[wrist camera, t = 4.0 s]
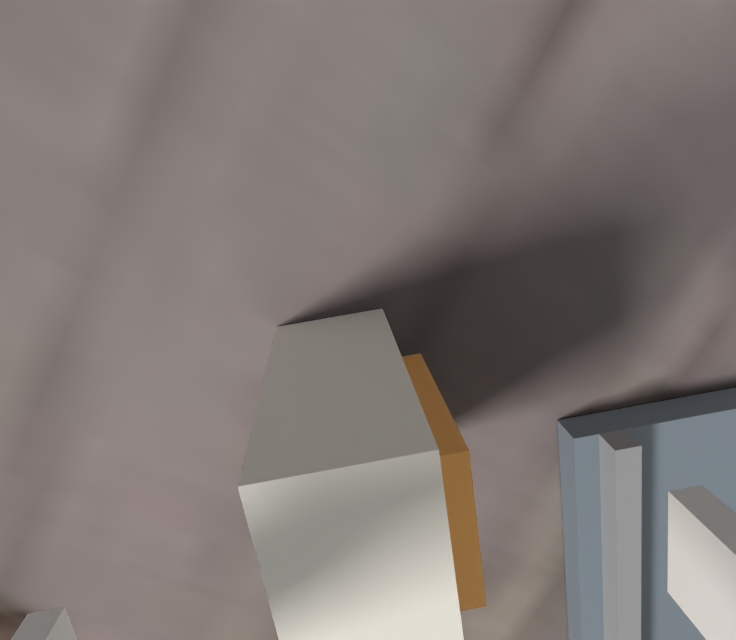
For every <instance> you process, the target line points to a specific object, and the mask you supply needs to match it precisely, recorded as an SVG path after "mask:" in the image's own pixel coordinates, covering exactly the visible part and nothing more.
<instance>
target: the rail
mask: <svg viewBox="0 0 736 640" xmlns="http://www.w3.org/2000/svg"><path fill="white" fill-rule="evenodd" d="M557 423H558V442H559V462H560V481H561V501H562V520H563V540H564V559H565V579H566V599H567V618H568V638H569V640H706V639H705V638H704V636H703V635H702V634H701V633H700V631H699V630H698V629H697V628H696V626H695V625H694V624H693V623H692V622H691V620H690V619H689V618H688V617H687V615H686V614H685V613H684V612H683V610H682V609H681V608H680V607H679V605H678V604H677V603H676V602H675V600H674V599H673V598H672V597H671V595H670V594H669V593H668V592H667V583H668V491H671V490H676V489H682V488H687V487H692V486H697V485H703V486H704V487H705V488H707V489H708V490H709V491H710V492H711V493H712V494H714V495H715V496H716V497H717V498H718V499H719V500H721V501H722V502H723V503H724V504H725V505H727V506H728V507H729V508H730V509H731V510H732V511H734V512H735V513H736V387H735V388H730V389H724V390H719V391H714V392H708V393H703V394H697V395H692V396H686V397H681V398H676V399H670V400H665V401H659V402H654V403H648V404H643V405H638V406H632V407H627V408H621V409H616V410H610V411H605V412H600V413H594V414H589V415H583V416H578V417H572V418H567V419H562V420H557Z"/></svg>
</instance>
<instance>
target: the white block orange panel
mask: <svg viewBox="0 0 736 640" xmlns="http://www.w3.org/2000/svg"><path fill="white" fill-rule="evenodd" d="M238 490H239V494H240V497H241V501H242V505H243V508H244V512H245V516H246V520H247V523H248V527H249V531H250V534H251V538H252V542H253V546H254V549H255V553H256V557H257V560H258V564H259V568H260V572H261V575H262V579H263V583H264V586H265V590H266V594H267V598H268V601H269V605H270V609H271V612H272V616H273V620H274V624H275V627H276V631H277V635H278V638H279V640H464V638H463V631H462V623H461V615H460V611H463V610H468V609H473V608H478V607H483V606H486V599H485V590H484V581H483V572H482V563H481V553H480V544H479V535H478V526H477V517H476V508H475V499H474V490H473V481H472V472H471V463H470V454H469V449H468V447H467V445H466V443H465V441H464V439H463V437H462V435H461V433H460V431H459V429H458V427H457V425H456V423H455V421H454V419H453V417H452V415H451V413H450V411H449V409H448V407H447V405H446V403H445V401H444V399H443V397H442V395H441V393H440V391H439V389H438V387H437V385H436V383H435V381H434V379H433V377H432V375H431V373H430V371H429V369H428V367H427V365H426V363H425V361H424V359H423V357H422V355H421V353H419V354H413V355H408V356H401V353H400V351H399V348H398V346H397V343H396V341H395V338H394V336H393V333H392V331H391V328H390V326H389V323H388V321H387V318H386V316H385V313H384V311H383V308H382V309H376V310H370V311H365V312H359V313H353V314H348V315H342V316H336V317H330V318H325V319H319V320H313V321H307V322H302V323H296V324H290V325H284V326H279V327H276V329H275V334H274V338H273V342H272V346H271V350H270V354H269V359H268V363H267V367H266V371H265V375H264V379H263V383H262V388H261V392H260V396H259V400H258V404H257V408H256V413H255V417H254V421H253V425H252V429H251V433H250V437H249V442H248V446H247V450H246V454H245V458H244V462H243V467H242V471H241V475H240V479H239V483H238Z"/></svg>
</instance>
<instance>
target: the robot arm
mask: <svg viewBox="0 0 736 640" xmlns="http://www.w3.org/2000/svg"><path fill="white" fill-rule="evenodd" d="M667 592H668V593H669V594H670V595H671V597H672V598H673V599H674V600H675V602H676V603H677V604H678V605H679V607H680V608H681V609H682V610H683V612H684V613H685V614H686V615H687V617H688V618H689V619H690V620H691V622H692V623H693V624H694V625H695V626H696V628H697V629H698V630H699V631H700V633H701V634H702V635H703V636H704V638H705V639H706V640H736V513H735V512H734V511H732V510H731V509H730V508H729V507H728V506H727V505H725V504H724V503H723V502H722V501H721V500H719V499H718V498H717V497H716V496H715V495H714V494H712V493H711V492H710V491H709V490H708V489H707V488H705V487H704V486H703V485H697V486H692V487H687V488H682V489H676V490H671V491H668V583H667ZM11 640H78V639H77V637H76V634H75V632H74V629H73V627H72V624H71V622H70V619H69V617H68V614H67V612H66V609H65V607H61V608H56V609H51V610H45V611H40V612H35V613H30V614H27V616H26V617H25V619H24V620H23V622H22V623H21V625H20V627H19V628H18V630H17V631H16V633H15V634H14V636H13V638H12V639H11Z"/></svg>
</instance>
